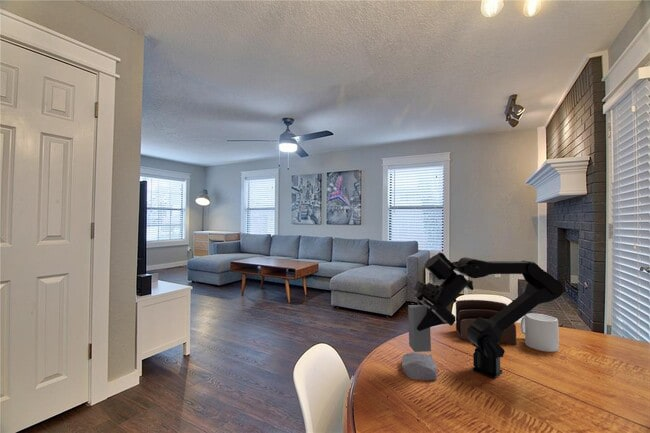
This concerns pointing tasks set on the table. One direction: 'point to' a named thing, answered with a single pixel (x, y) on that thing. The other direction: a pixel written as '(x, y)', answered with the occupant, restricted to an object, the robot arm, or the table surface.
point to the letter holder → (485, 309)
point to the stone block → (419, 366)
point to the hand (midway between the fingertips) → (414, 326)
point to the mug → (540, 332)
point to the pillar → (417, 339)
